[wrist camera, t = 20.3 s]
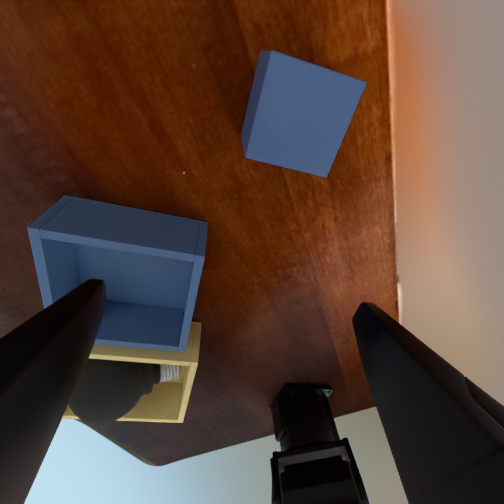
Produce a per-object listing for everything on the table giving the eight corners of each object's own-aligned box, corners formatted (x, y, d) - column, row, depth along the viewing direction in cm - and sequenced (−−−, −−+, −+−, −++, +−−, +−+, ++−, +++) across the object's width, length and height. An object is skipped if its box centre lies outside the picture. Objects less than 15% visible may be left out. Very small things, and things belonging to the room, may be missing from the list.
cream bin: (201, 322, 27) (198, 363, 23) (187, 382, 33) (182, 423, 29) (62, 306, 24) (34, 349, 21) (73, 375, 30) (52, 418, 26)
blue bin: (208, 221, 21) (205, 256, 17) (190, 311, 26) (185, 352, 22) (64, 194, 19) (26, 227, 15) (76, 297, 24) (50, 340, 20)
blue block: (334, 76, 16) (367, 81, 12) (306, 154, 18) (326, 178, 15) (259, 51, 15) (271, 49, 11) (240, 136, 17) (244, 157, 14)
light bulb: (187, 414, 27) (65, 453, 22) (170, 366, 32) (68, 388, 27) (196, 365, 25) (63, 395, 20) (177, 322, 30) (66, 336, 25)
